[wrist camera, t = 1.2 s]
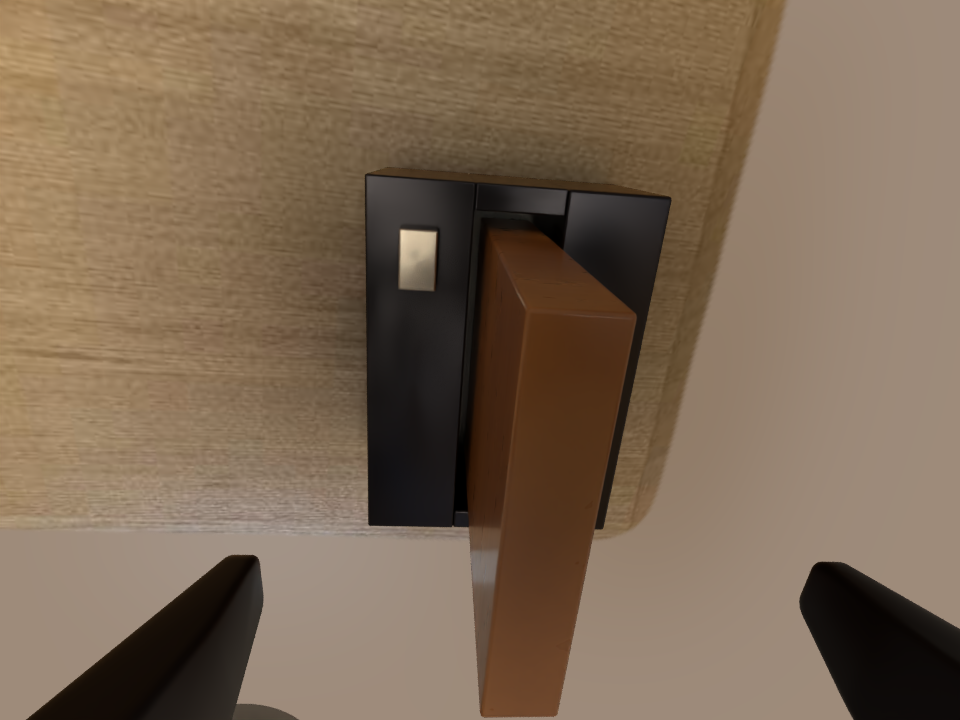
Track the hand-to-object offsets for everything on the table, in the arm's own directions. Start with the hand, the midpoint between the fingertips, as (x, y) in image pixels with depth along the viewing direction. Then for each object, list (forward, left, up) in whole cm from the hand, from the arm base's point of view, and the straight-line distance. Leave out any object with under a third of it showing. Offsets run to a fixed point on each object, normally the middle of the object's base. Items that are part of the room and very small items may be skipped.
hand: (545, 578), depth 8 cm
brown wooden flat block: (0, 0, -10) cm, 11 cm away
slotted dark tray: (0, 0, -12) cm, 13 cm away
